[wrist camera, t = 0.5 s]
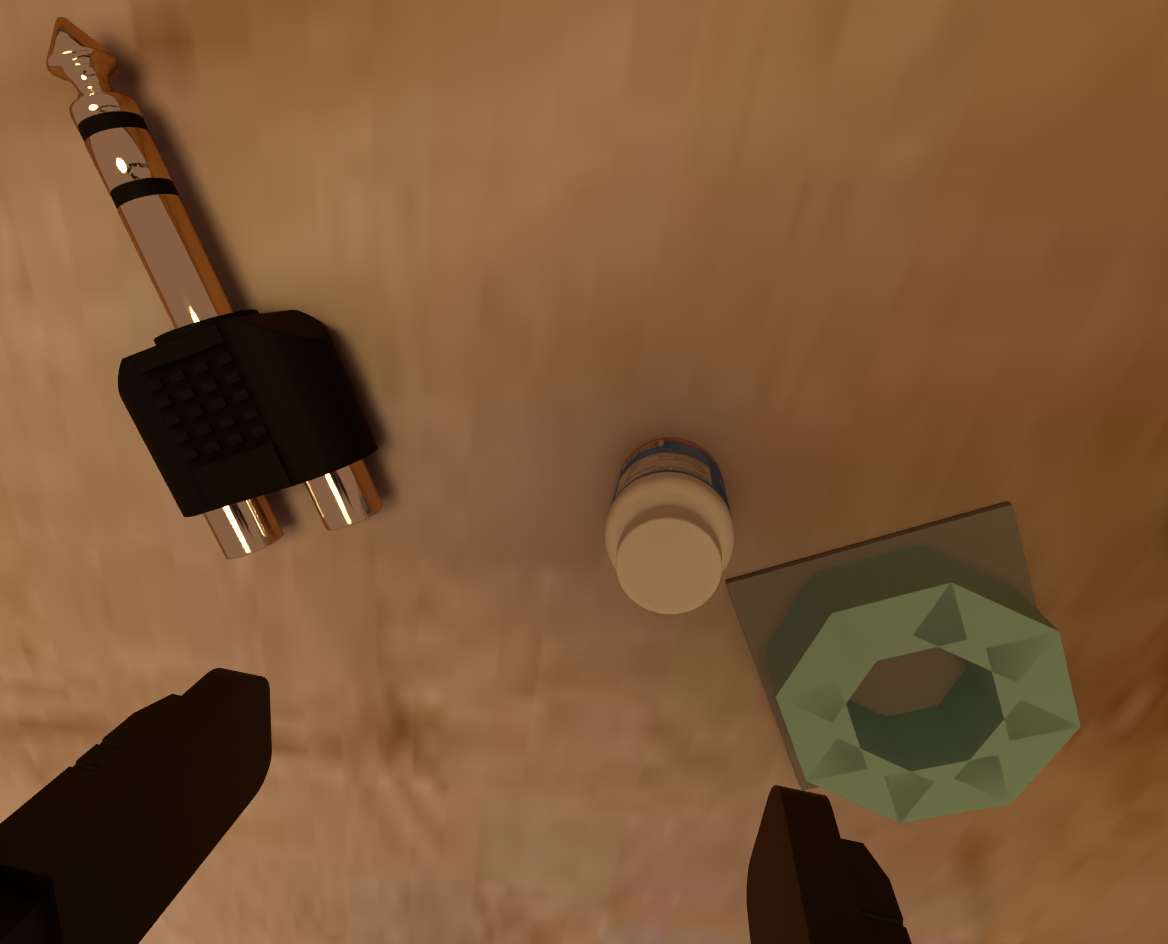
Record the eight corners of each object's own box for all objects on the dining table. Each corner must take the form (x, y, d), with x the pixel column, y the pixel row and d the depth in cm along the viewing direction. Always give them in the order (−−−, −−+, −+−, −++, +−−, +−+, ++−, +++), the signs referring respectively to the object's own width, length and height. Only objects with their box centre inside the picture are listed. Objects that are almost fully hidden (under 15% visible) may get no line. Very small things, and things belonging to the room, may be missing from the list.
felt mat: (1008, 501, 31) (1012, 504, 31) (1062, 733, 34) (1066, 738, 34) (725, 580, 34) (726, 583, 34) (800, 785, 38) (801, 790, 37)
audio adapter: (186, 578, 33) (-100, 49, 26) (252, 536, 38) (24, 83, 32) (372, 526, 30) (105, -70, 24) (415, 489, 35) (204, -12, 29)
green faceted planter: (998, 522, 31) (1043, 558, 27) (1048, 730, 34) (1094, 789, 30) (744, 592, 34) (752, 633, 30) (811, 777, 37) (826, 836, 33)
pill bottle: (710, 543, 34) (721, 648, 25) (609, 522, 34) (584, 618, 25) (735, 445, 32) (757, 519, 23) (628, 424, 32) (609, 489, 23)
